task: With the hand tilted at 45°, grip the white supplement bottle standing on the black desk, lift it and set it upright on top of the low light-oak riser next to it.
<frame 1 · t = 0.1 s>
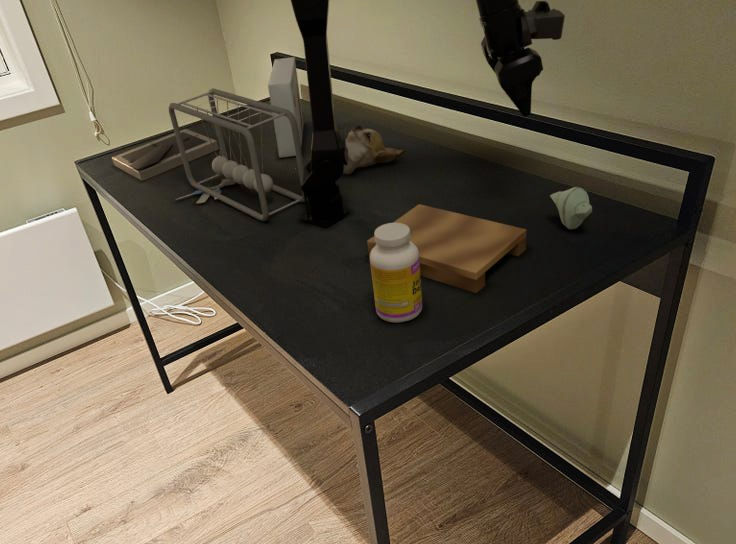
hand: (521, 105, 107), 15 cm above the table, tool pointing down, fingers open, 9 cm apart
key chain: (214, 195, 137), on the table, touching newton's cradle
oak riser: (445, 254, 104), on the table
ceramic sculpture: (364, 166, 137), on the table
picture frame: (166, 158, 159), on the table
newton's cradle: (246, 195, 134), on the table, touching key chain
skincare box: (293, 141, 155), on the table
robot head: (571, 229, 105), on the table
supplement bottle: (399, 312, 95), on the table
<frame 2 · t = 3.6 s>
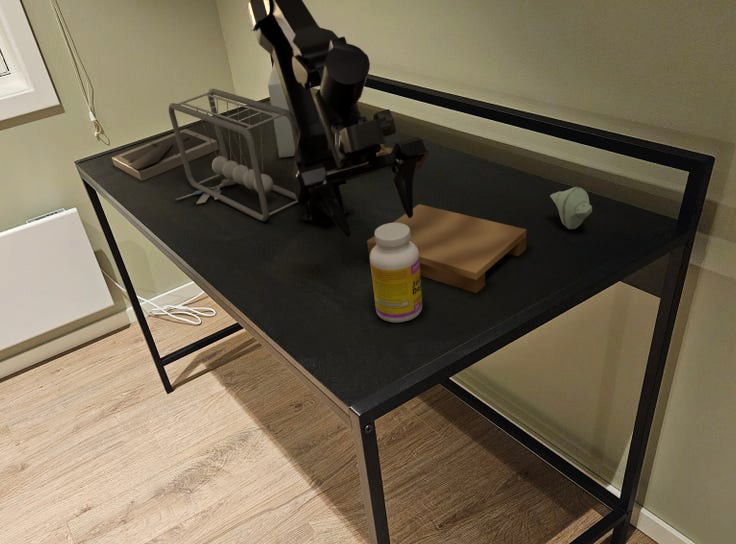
hand: (380, 226, 91), 11 cm above the table, tool tilted 45°, fingers open, 9 cm apart
key chain: (214, 195, 137), on the table
newton's cradle: (246, 195, 134), on the table
everything else where it was.
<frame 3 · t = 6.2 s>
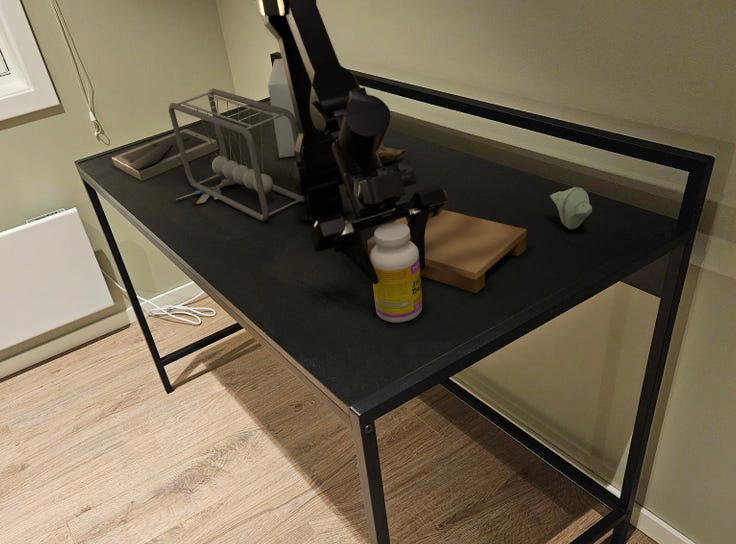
hand: (399, 276, 89), 7 cm above the table, tool tilted 45°, fingers closed on supplement bottle, 6 cm apart
key chain: (214, 195, 137), on the table, touching newton's cradle
newton's cradle: (246, 195, 134), on the table, touching key chain
supplement bottle: (399, 312, 95), on the table, touching gripper
everything else where it was.
when the fingers open (10 cm above the table, at t = 13.2 s): supplement bottle stays where it is, resting on oak riser.
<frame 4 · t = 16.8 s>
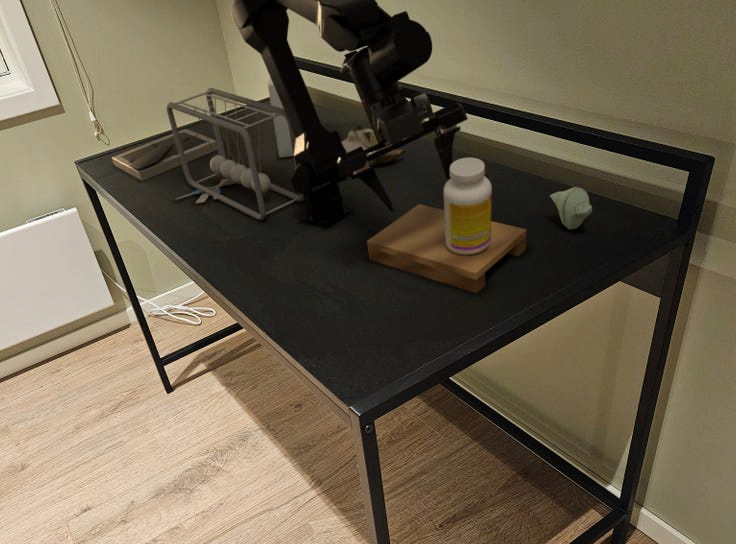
hand: (422, 198, 95), 12 cm above the table, tool tilted 30°, fingers open, 9 cm apart
supplement bottle: (468, 243, 99), point 4 cm above the table, touching gripper, oak riser
everything else where it was.
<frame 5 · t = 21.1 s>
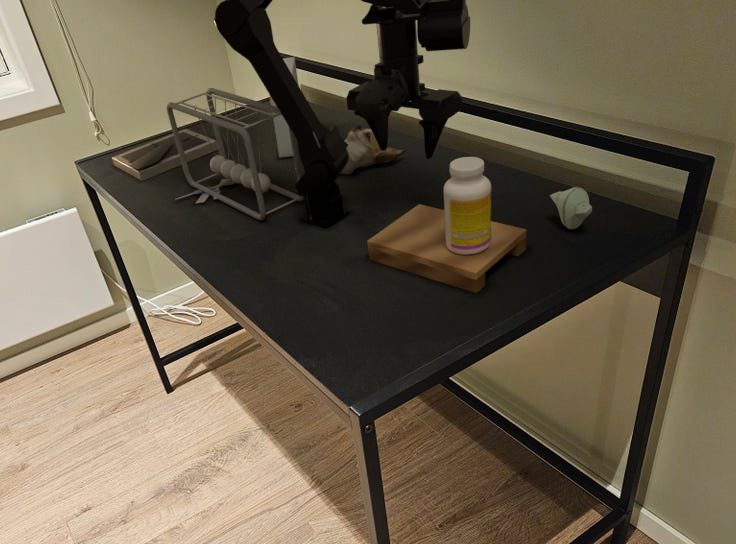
hand: (406, 153, 108), 12 cm above the table, tool pointing down, fingers open, 9 cm apart
key chain: (213, 195, 137), on the table
newton's cradle: (244, 194, 135), on the table
supplement bottle: (468, 246, 99), point 3 cm above the table, touching oak riser
everything else where it was.
at the end: supplement bottle inside the target area on the oak riser (4.9 cm from its centre), point 3.3 cm above the oak riser's base; supplement bottle tilted 0°; the gripper is holding nothing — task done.
